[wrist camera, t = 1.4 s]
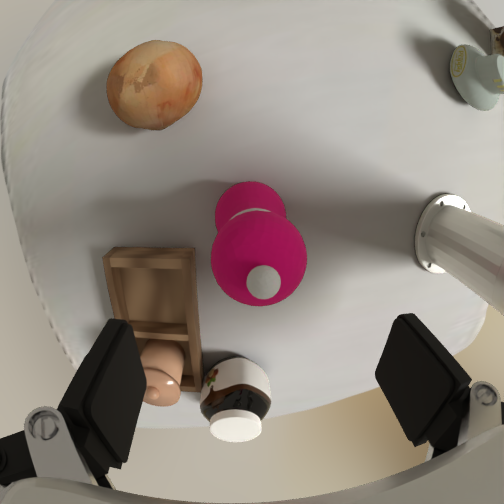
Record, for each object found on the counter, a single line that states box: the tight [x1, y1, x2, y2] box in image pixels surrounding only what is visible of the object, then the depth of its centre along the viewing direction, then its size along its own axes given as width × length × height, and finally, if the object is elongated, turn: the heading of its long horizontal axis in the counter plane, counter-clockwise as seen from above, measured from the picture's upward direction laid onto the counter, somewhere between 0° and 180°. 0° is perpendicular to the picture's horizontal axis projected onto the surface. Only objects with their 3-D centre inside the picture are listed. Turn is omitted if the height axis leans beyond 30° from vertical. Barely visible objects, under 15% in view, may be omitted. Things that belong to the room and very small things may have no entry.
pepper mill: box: [211, 181, 307, 306], centre depth 23 cm, size 7×7×20 cm
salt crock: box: [140, 339, 185, 406], centre depth 33 cm, size 7×7×9 cm
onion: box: [107, 40, 202, 130], centre depth 22 cm, size 10×10×10 cm
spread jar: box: [200, 357, 271, 442], centre depth 36 cm, size 12×11×12 cm
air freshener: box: [450, 45, 504, 111], centre depth 21 cm, size 11×8×10 cm
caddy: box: [102, 247, 204, 392], centre depth 35 cm, size 11×22×4 cm, turn 178°
